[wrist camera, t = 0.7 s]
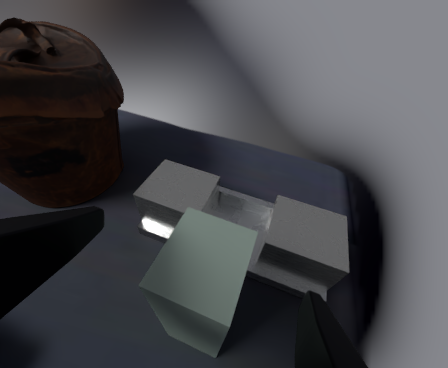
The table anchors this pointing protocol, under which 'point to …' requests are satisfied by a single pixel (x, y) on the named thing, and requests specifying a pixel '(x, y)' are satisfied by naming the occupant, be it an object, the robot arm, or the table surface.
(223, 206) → the rail
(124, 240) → the table surface
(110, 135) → the brown flower pot
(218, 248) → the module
